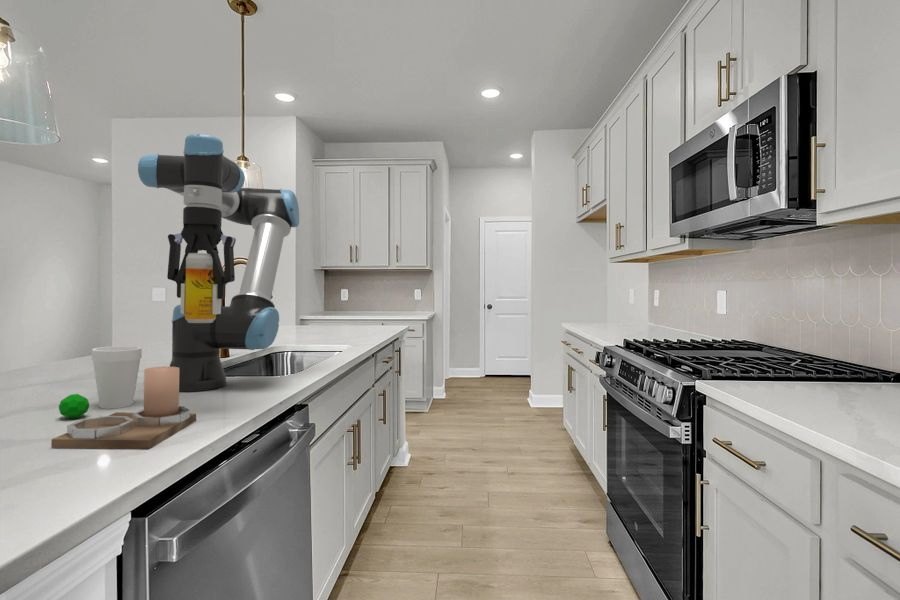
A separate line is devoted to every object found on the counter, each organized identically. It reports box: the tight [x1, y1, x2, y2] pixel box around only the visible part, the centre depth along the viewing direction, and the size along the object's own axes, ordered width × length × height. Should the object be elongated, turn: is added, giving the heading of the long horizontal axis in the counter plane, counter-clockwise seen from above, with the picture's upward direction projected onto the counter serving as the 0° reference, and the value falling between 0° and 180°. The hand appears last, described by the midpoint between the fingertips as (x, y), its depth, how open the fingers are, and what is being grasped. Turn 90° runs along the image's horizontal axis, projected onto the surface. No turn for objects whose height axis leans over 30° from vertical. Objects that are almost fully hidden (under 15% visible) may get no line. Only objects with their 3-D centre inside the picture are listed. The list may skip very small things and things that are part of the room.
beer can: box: [185, 252, 217, 323], centre depth 109 cm, size 6×6×15 cm
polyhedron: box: [58, 393, 90, 420], centre depth 102 cm, size 5×5×5 cm
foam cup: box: [91, 345, 143, 409], centre depth 113 cm, size 10×9×13 cm
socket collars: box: [66, 405, 191, 439], centre depth 94 cm, size 17×16×2 cm
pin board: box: [50, 411, 197, 450], centre depth 94 cm, size 18×16×2 cm
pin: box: [143, 366, 180, 417], centre depth 98 cm, size 6×6×10 cm
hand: (200, 313), depth 109 cm, fingers closed on beer can, 6 cm apart
